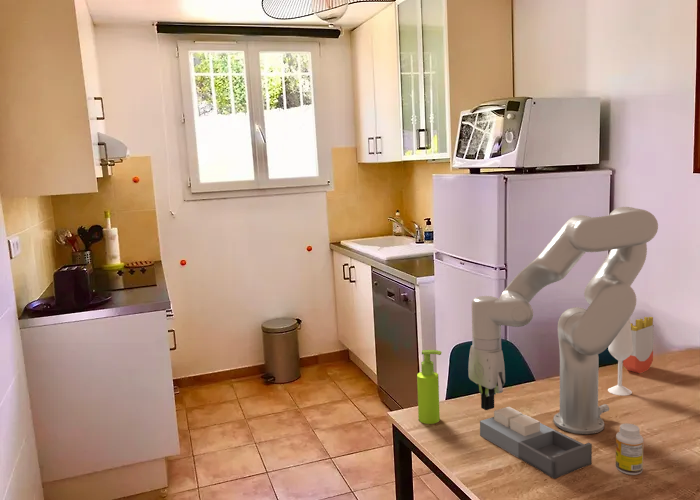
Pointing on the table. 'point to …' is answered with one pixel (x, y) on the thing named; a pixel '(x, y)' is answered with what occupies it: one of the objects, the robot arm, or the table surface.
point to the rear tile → (506, 415)
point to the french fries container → (641, 346)
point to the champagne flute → (621, 356)
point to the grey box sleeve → (514, 436)
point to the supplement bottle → (629, 449)
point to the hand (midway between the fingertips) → (487, 408)
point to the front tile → (525, 425)
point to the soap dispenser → (428, 390)
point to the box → (557, 455)
